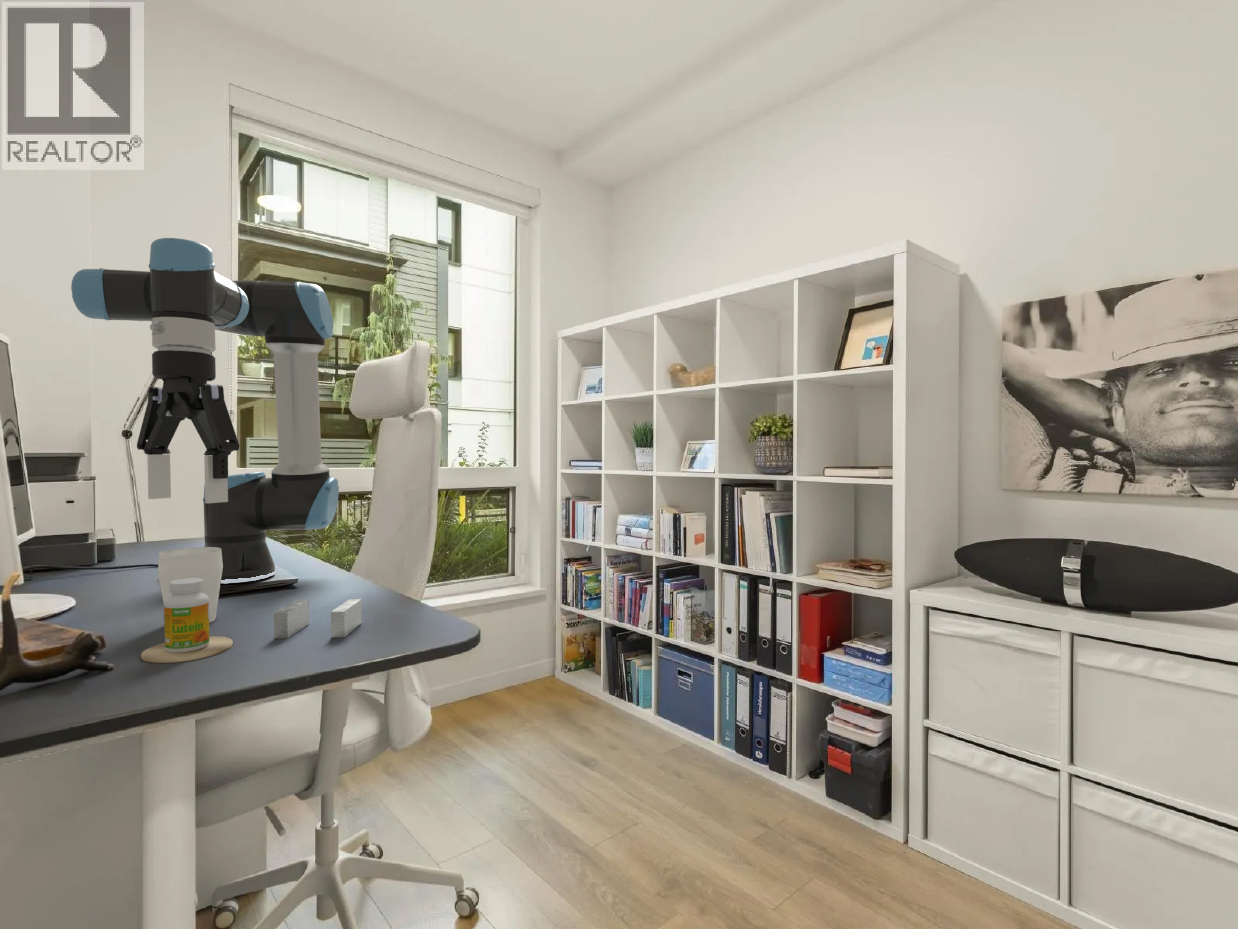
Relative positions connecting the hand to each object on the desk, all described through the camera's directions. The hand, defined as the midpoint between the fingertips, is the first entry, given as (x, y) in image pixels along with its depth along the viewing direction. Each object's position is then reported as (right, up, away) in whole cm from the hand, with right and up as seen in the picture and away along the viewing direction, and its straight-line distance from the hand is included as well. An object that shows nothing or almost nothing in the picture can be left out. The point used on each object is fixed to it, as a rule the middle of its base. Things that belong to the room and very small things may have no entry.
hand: (187, 500), depth 93 cm
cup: (-9, -21, +15) cm, 28 cm away
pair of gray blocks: (+14, -21, +10) cm, 28 cm away
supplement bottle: (0, -21, 0) cm, 21 cm away
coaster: (0, -22, 0) cm, 22 cm away
